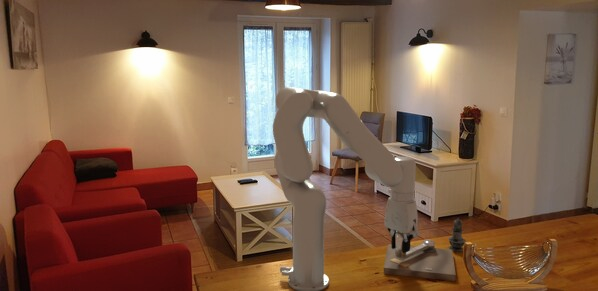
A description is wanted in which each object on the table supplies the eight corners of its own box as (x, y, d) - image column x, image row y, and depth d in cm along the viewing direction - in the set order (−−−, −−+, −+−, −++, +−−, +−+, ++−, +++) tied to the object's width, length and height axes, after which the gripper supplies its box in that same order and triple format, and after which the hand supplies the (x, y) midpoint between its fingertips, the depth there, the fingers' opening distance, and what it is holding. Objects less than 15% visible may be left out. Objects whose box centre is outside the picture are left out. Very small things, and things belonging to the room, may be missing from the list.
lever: (426, 242, 168) (428, 218, 166) (436, 246, 165) (437, 221, 163) (391, 258, 155) (392, 231, 154) (401, 262, 152) (402, 235, 151)
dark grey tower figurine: (462, 246, 174) (464, 214, 171) (466, 252, 168) (468, 220, 166) (446, 245, 174) (448, 214, 172) (449, 252, 168) (451, 220, 166)
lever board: (383, 273, 152) (383, 265, 152) (388, 248, 172) (388, 242, 171) (455, 280, 147) (455, 273, 146) (451, 254, 166) (451, 247, 166)
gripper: (374, 192, 155) (373, 245, 158) (416, 203, 142) (414, 261, 146) (389, 188, 160) (387, 239, 163) (431, 199, 147) (429, 254, 150)
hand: (400, 249), depth 154 cm, fingers closed on lever, 3 cm apart
